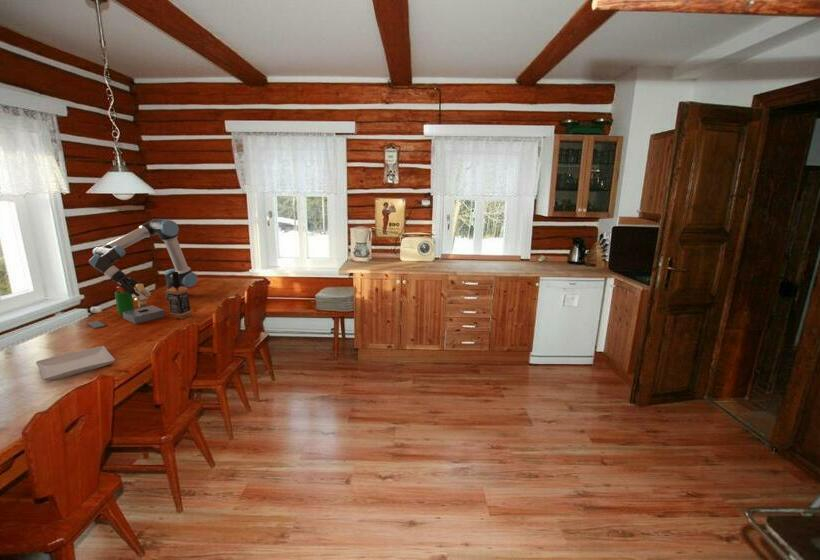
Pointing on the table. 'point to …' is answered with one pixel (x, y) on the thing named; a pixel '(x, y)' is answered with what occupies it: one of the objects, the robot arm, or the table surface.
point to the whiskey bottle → (178, 299)
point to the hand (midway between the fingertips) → (146, 296)
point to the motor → (123, 301)
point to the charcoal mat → (96, 324)
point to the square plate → (74, 363)
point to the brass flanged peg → (141, 290)
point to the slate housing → (143, 314)
